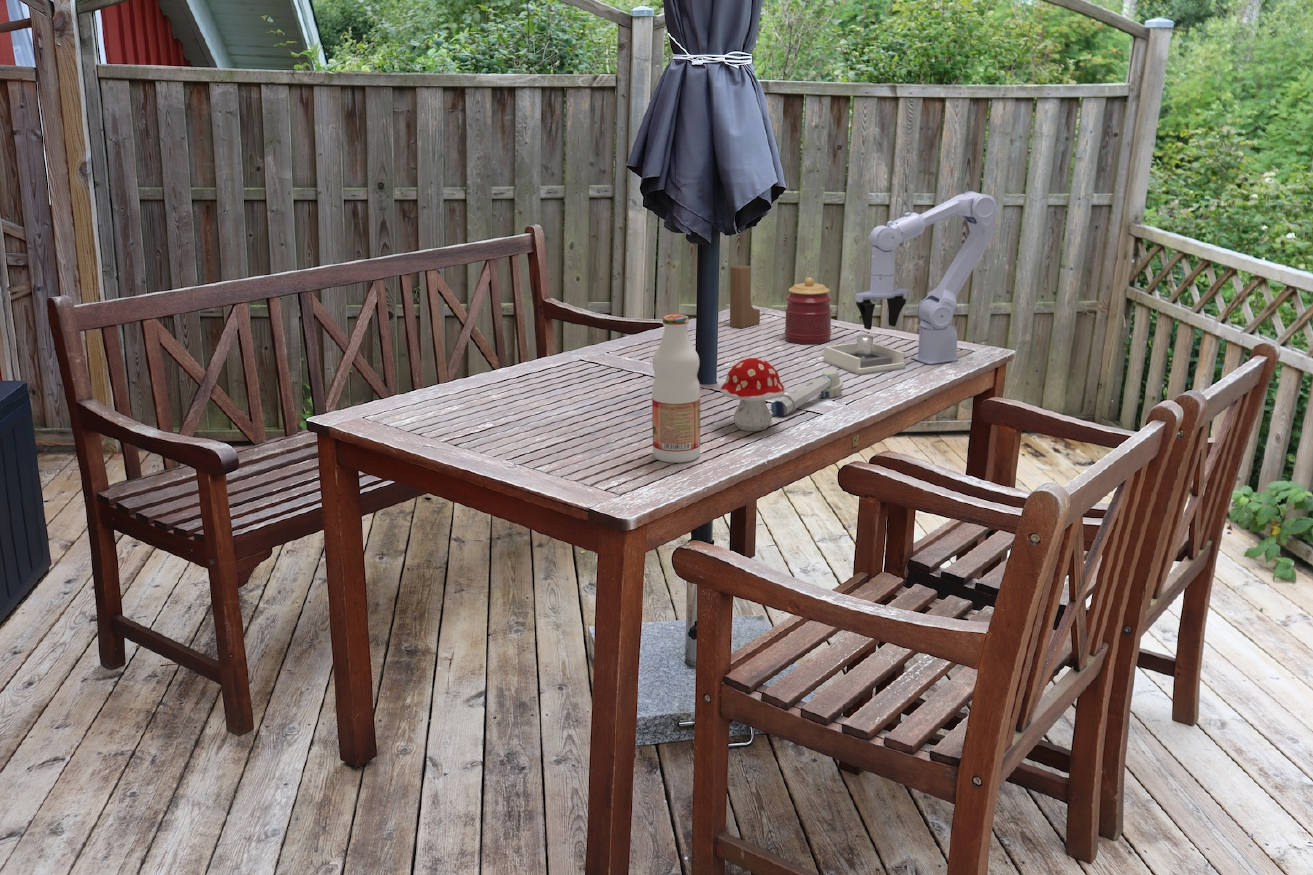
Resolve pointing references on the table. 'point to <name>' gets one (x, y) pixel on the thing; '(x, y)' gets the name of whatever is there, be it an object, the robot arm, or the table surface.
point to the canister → (808, 313)
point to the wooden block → (742, 298)
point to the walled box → (849, 361)
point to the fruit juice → (676, 394)
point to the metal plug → (864, 346)
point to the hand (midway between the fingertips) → (879, 327)
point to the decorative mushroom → (752, 392)
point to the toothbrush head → (809, 393)
